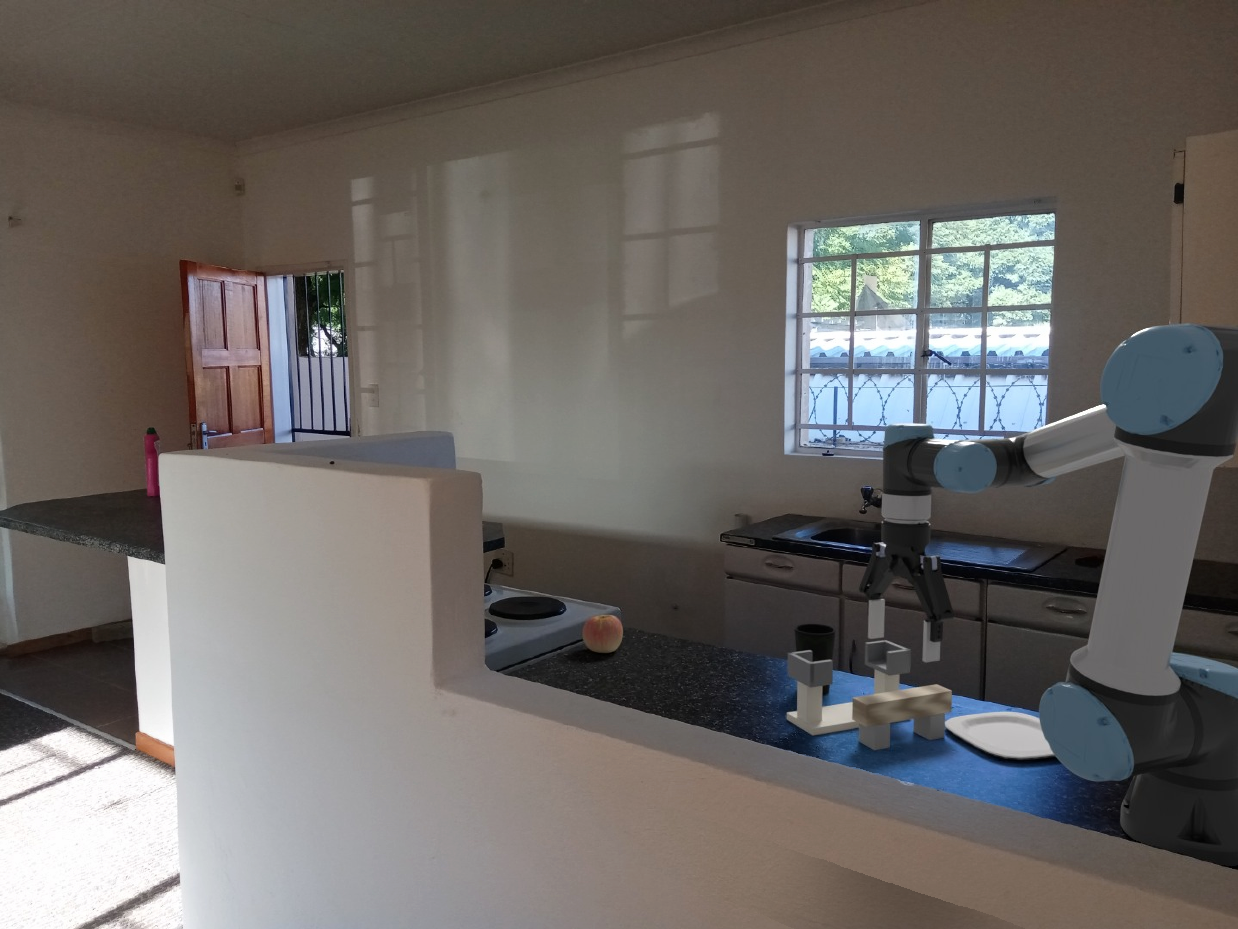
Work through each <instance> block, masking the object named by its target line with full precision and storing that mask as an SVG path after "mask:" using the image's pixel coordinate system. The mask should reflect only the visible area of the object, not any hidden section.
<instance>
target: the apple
mask: <svg viewBox="0 0 1238 929" xmlns="http://www.w3.org/2000/svg"><path fill="white" fill-rule="evenodd" d="M623 634H624V629H623V625H622V622H621V620H620V619H619V618H618V617H617V616H615V615H612V614H599V615H595V616H592V617H590V618H588V619H587V620H586V621H585V623H584V625H583V628H582V640H583V642H584V644H585V646H586V647H587V648H588V649H589V650H590V651H592V652H594V653H600V654H609V653H612V652H615V651H616V650H617V649H618V648H619V646H620V645H621V643H622V640H623Z"/></svg>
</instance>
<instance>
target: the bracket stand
mask: <svg viewBox="0 0 1238 929" xmlns="http://www.w3.org/2000/svg"><path fill="white" fill-rule="evenodd" d="M911 653H912V650H911V649H910V648H907V647H905V646H902V645H899V644H896V643H894V642H892V641H889V640H886V639H885V640H884V639H883V640H876V641H870V642H869V641H867V642H864V665H865V666H867V667H869V668H870V669H874V684H873V686H874V688H873V689H874V690H873V694H878V693H885V692H891V691H897V690H900V675H902V674H910V673H911V668H912V667H911V664H912V659H911V656H912V654H911ZM833 668H834V661H833V660H823V661H816V662H812V651H811V650H807V651H799V652H796V651H793V652H787V677H789V678H792V679H793V680H795V681H797V682H796V683H797V687H796V688H797V690H796V691H797V693H796V697H797V699H796V700H797V701H796V710H795V711H788V712H786V720H787V721H789V722H790V723H792V724H794V726H797V727H798V728H799V729H801V730H804V731H805V732H807V734H810V735H811V736H817V735H824V734H830V733H835V732H840V731H841V732H842V731H847V730H848V731H849V730H853V729H859V723H858V722H856V721H855V720H853V719H852V704H853V701H851V702H844V703H838V704H833V705H826V706H825V705H824V706H823V695H822V686H824V685H830V686H832V685H833V679H834V678H833V677H834V676H833V675H834V673H833V671H834V669H833Z"/></svg>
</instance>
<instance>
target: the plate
mask: <svg viewBox="0 0 1238 929" xmlns="http://www.w3.org/2000/svg"><path fill="white" fill-rule="evenodd" d="M945 730H947V731H948V732H950V733H951V734H952V735H953V736H955V737H957V738H959V739H960V740H962V741H964V742H965V743H967V744H969V745H971V746H972V747H974V748H976V749H978V750H980V751H981V752H984V753H986V754H988V755H989V756H990V755H991V756H993V757H998V758H1001V759H1004V760H1005V759H1007V760H1017V761H1023V760H1024V761H1026V760H1027V761H1028V760H1039V759H1041V760H1042V759H1048V758H1054V757H1055V758H1057V757H1056V756H1055V755H1054V753H1053V752H1052V750H1051V749H1050V746H1049V743H1048V742H1047V740H1046V739H1045V737H1044V735H1043V732H1042V729H1041V725H1040V719H1039V717H1036V716H1034V715H1030V714H1027V713H1022V712H1017V711H1016V712H1014V711H994V712H993V711H992V712H982V713H973V714H966V715H965V714H964V715H960V716H955V717H950V718H949V719H947V720H945Z"/></svg>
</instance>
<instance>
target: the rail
mask: <svg viewBox="0 0 1238 929" xmlns="http://www.w3.org/2000/svg"><path fill="white" fill-rule="evenodd" d="M952 698H953V691H952V690H951V689H949V688H946V687H944V686H942V685H939V684H930V685H923V686H919V687H918V686H916V687H912V688H903V689H899V690H897V691H891V692H885V693H878V694H874V693H873V694H868V695H867V694H865V695H860V696H855V697H852V702H853V704H852V719H853V720H855V721H856V722H858V723H860V724H862V725H864V726H865V727H868V726H874V725H880V724H886V723H890V724H891V723H896V722H903V721H908V720H909V721H910V720H914V719H915V718H920V717H926V716H932V715H938V714H943V713H944V714H949V713H952V709H953V708H952V704H953V703H952V701H953V699H952Z"/></svg>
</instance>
